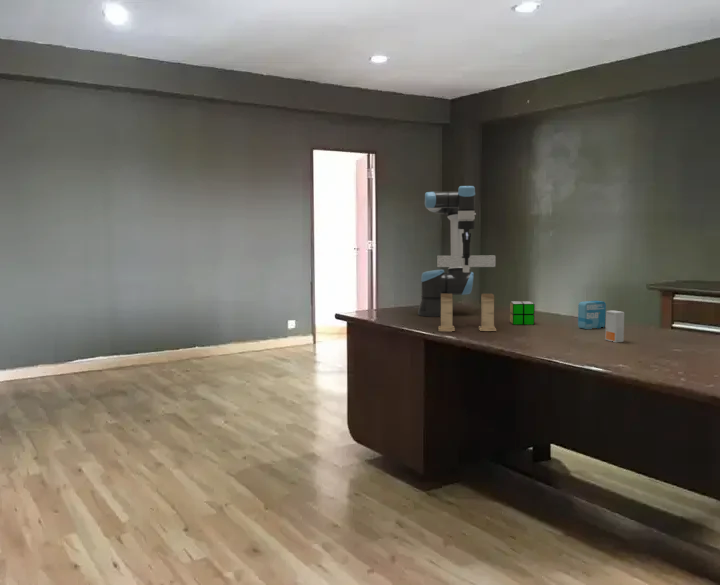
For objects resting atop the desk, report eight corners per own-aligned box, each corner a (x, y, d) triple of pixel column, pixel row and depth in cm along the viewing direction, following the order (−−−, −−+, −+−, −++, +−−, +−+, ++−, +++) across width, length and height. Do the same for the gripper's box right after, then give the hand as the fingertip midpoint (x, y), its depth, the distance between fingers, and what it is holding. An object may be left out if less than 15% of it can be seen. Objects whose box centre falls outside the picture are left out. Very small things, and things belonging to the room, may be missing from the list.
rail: (437, 266, 310) (437, 255, 309) (494, 266, 307) (494, 255, 306) (437, 267, 306) (437, 256, 305) (495, 266, 303) (495, 255, 303)
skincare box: (604, 340, 271) (605, 310, 270) (613, 339, 272) (614, 310, 271) (615, 342, 265) (616, 312, 264) (624, 341, 267) (624, 311, 265)
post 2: (478, 328, 303) (479, 293, 301) (494, 328, 302) (494, 293, 300) (480, 331, 295) (480, 295, 293) (496, 331, 294) (496, 295, 292)
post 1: (438, 328, 305) (438, 293, 303) (454, 328, 304) (454, 293, 302) (438, 331, 297) (438, 295, 295) (454, 331, 296) (454, 295, 294)
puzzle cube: (531, 322, 323) (531, 301, 322) (534, 325, 313) (534, 303, 312) (509, 321, 324) (510, 301, 323) (512, 325, 314) (512, 303, 313)
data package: (584, 329, 298) (585, 302, 297) (577, 328, 302) (578, 301, 301) (605, 327, 303) (606, 301, 302) (598, 326, 307) (598, 300, 306)
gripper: (476, 220, 295) (475, 273, 298) (473, 220, 312) (473, 270, 315) (458, 220, 296) (458, 273, 299) (457, 220, 313) (457, 270, 315)
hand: (466, 271), depth 307 cm, fingers closed on rail, 4 cm apart
